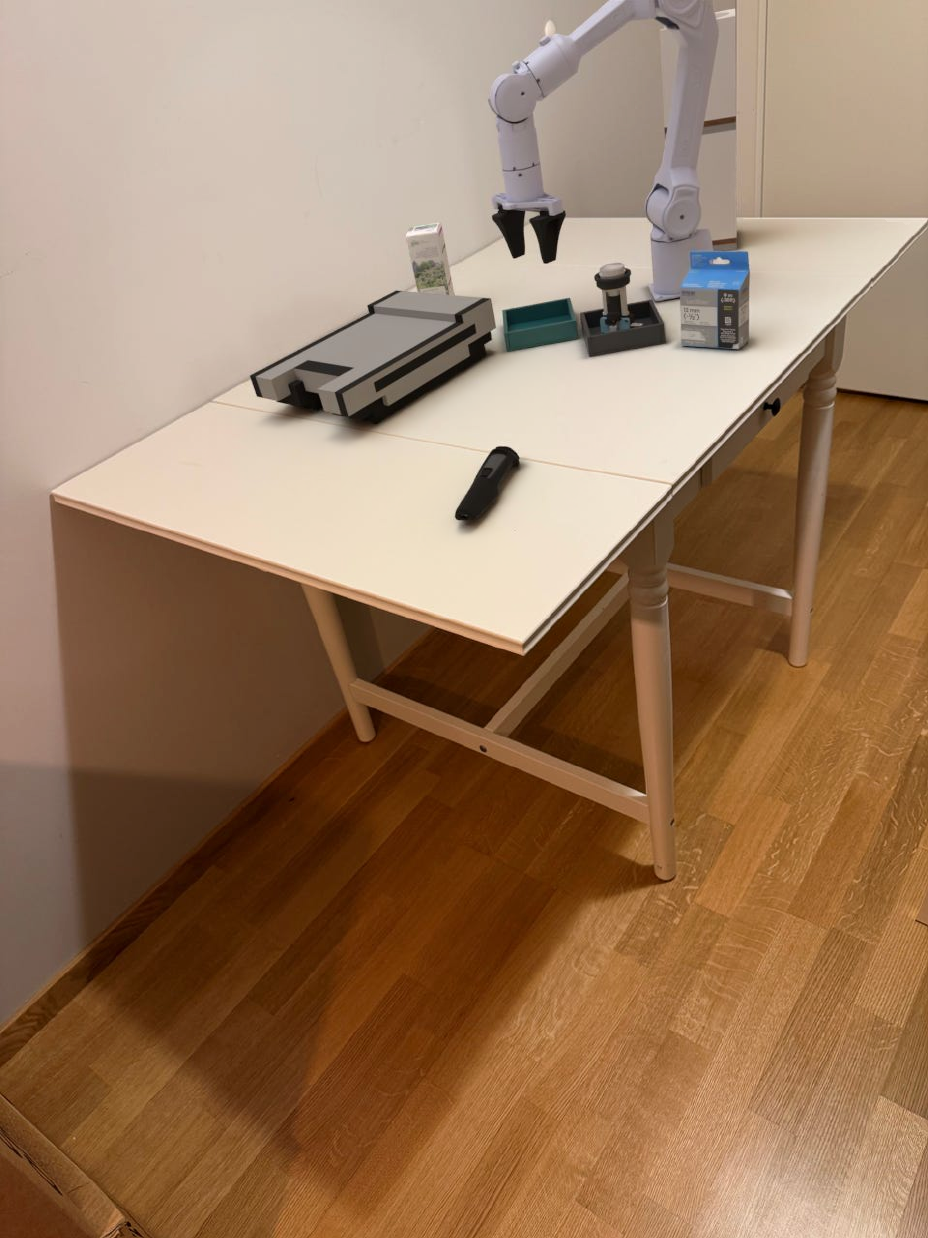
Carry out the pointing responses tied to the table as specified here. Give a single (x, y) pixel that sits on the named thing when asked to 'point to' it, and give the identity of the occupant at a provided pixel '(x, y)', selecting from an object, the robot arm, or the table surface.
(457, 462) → the table surface
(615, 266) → the push button
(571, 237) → the table surface
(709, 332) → the label tape box
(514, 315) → the box
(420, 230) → the syrup box
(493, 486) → the electric trimmer
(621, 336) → the right tote
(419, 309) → the game console
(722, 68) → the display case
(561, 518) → the table surface
